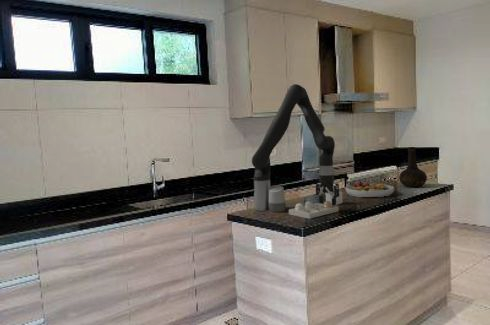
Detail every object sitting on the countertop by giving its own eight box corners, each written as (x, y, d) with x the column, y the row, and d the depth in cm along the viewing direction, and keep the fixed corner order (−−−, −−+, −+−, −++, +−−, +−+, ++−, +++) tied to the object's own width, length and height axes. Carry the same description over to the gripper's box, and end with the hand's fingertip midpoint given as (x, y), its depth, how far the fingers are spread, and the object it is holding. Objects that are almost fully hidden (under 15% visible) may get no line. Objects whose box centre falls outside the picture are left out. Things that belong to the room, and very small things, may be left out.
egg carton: (288, 215, 204) (288, 209, 204) (317, 208, 217) (317, 203, 217) (309, 220, 192) (309, 213, 192) (338, 212, 205) (338, 206, 205)
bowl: (404, 195, 244) (404, 183, 243) (365, 200, 233) (365, 188, 232) (372, 189, 272) (372, 178, 271) (336, 194, 261) (336, 182, 260)
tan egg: (322, 211, 206) (321, 201, 206) (327, 210, 209) (327, 199, 208) (328, 212, 202) (327, 202, 202) (333, 211, 205) (333, 200, 205)
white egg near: (293, 214, 203) (293, 203, 203) (299, 212, 206) (299, 202, 206) (299, 215, 200) (299, 204, 199) (305, 213, 202) (305, 203, 202)
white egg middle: (303, 211, 208) (302, 201, 207) (308, 210, 210) (308, 200, 210) (309, 212, 204) (308, 202, 204) (314, 211, 207) (314, 201, 206)
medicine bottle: (332, 201, 234) (331, 182, 233) (342, 203, 229) (342, 183, 228) (325, 203, 229) (325, 183, 228) (336, 205, 224) (335, 184, 223)
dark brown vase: (430, 185, 273) (429, 146, 271) (422, 189, 260) (421, 147, 257) (404, 184, 285) (403, 146, 282) (395, 187, 272) (394, 148, 269)
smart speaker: (265, 212, 214) (264, 187, 213) (276, 209, 221) (275, 185, 220) (278, 214, 208) (277, 188, 206) (289, 211, 214) (288, 186, 213)
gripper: (341, 173, 200) (342, 204, 202) (321, 172, 212) (322, 201, 213) (332, 175, 196) (333, 207, 197) (311, 173, 207) (312, 203, 209)
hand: (327, 204), depth 205 cm, fingers open, 8 cm apart
